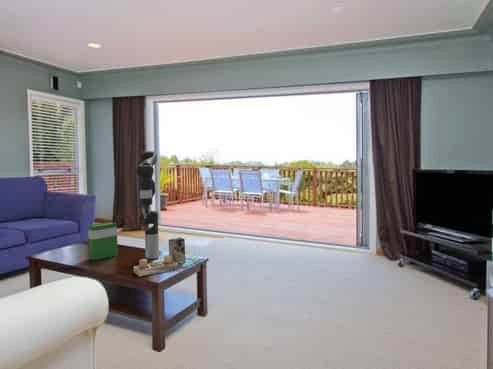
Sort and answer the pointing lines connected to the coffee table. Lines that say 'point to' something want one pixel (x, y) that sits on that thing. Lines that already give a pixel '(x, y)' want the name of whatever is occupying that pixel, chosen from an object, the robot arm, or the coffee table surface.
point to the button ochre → (167, 259)
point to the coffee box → (177, 249)
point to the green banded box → (102, 240)
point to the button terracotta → (143, 263)
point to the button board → (155, 268)
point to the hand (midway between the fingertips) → (147, 224)
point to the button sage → (155, 263)
